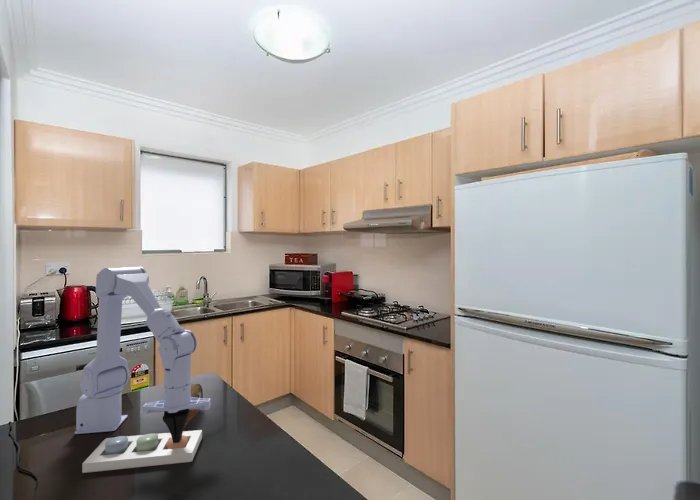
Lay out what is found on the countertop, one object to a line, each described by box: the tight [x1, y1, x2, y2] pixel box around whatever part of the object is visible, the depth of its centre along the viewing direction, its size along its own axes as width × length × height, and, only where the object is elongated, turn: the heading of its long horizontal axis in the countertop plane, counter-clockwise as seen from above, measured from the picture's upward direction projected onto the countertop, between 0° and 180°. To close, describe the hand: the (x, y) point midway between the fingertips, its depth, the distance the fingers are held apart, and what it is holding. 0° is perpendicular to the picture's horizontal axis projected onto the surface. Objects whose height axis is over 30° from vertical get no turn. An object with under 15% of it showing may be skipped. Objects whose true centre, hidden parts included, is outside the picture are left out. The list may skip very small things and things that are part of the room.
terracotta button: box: [167, 435, 188, 449], centre depth 82 cm, size 4×4×2 cm
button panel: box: [81, 429, 203, 474], centre depth 81 cm, size 22×10×2 cm, turn 101°
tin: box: [184, 383, 204, 427], centre depth 98 cm, size 15×3×8 cm, turn 179°
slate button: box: [105, 435, 128, 455], centre depth 80 cm, size 4×4×2 cm
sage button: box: [136, 433, 158, 452], centre depth 81 cm, size 4×4×2 cm
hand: (177, 440), depth 82 cm, fingers closed, pressing on terracotta button
